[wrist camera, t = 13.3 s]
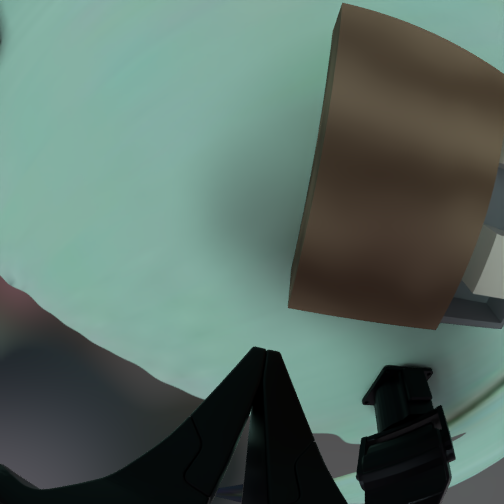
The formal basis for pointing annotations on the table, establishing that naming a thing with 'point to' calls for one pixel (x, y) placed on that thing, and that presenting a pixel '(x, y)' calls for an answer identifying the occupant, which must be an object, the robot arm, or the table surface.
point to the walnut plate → (396, 173)
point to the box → (464, 301)
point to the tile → (487, 264)
